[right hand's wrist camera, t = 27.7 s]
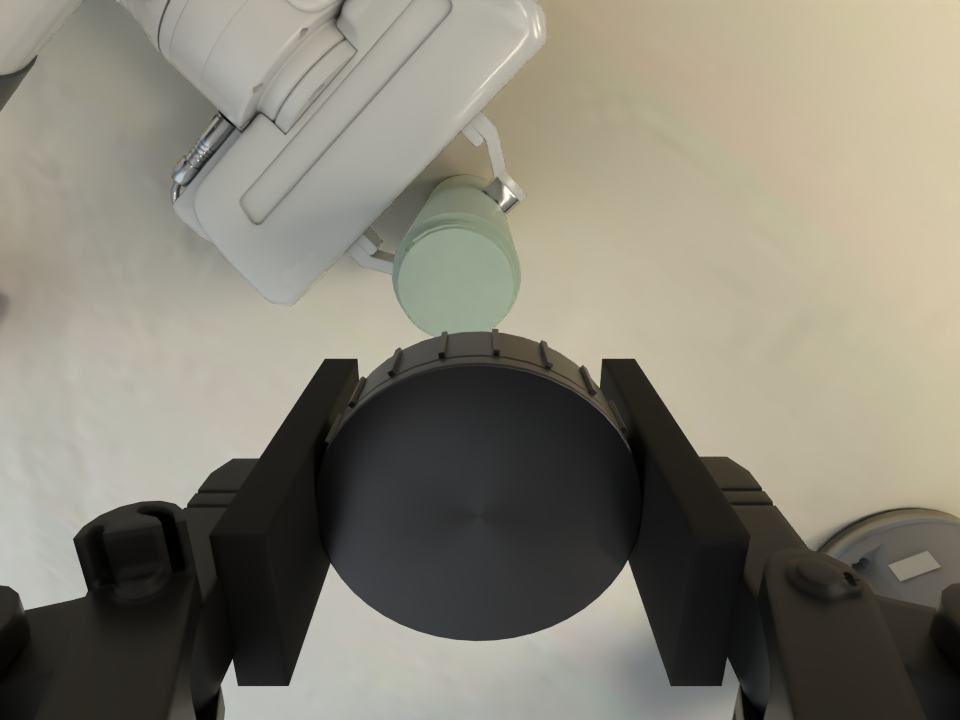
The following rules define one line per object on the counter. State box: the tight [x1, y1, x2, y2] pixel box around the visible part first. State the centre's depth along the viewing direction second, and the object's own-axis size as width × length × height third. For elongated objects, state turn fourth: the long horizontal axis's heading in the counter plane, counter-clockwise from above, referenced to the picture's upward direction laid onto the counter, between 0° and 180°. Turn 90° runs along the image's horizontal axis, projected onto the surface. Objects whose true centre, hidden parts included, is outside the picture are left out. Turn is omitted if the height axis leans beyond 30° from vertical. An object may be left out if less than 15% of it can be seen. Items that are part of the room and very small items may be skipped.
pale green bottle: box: [392, 175, 521, 337], centre depth 31 cm, size 5×5×18 cm
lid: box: [315, 329, 643, 641], centre depth 11 cm, size 6×6×2 cm
